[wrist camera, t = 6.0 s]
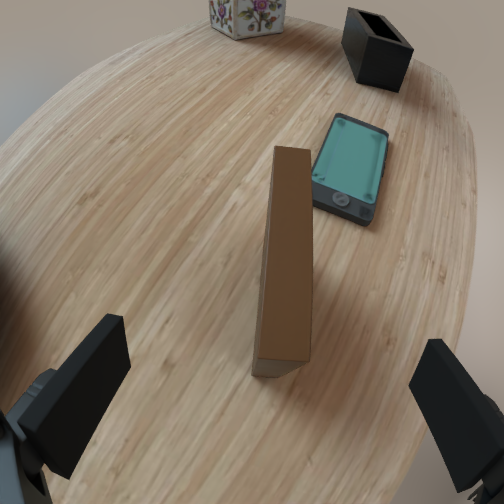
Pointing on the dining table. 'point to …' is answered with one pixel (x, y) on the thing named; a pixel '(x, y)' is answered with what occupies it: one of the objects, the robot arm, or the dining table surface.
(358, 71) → the black open box
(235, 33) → the decorative jar
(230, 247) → the dining table surface
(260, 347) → the thin brown wooden plank
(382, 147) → the smartphone
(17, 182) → the dining table surface
